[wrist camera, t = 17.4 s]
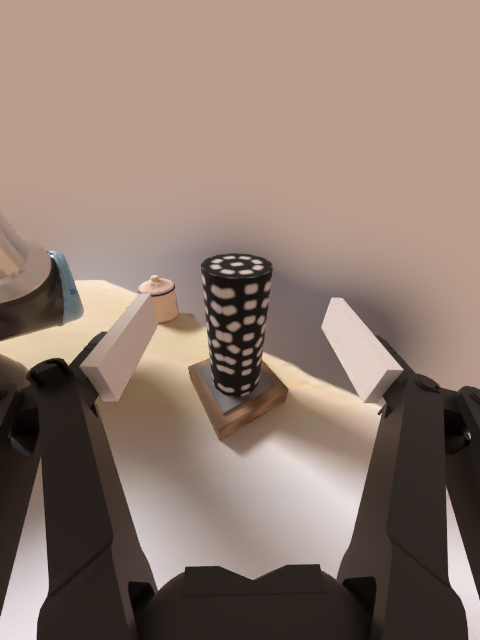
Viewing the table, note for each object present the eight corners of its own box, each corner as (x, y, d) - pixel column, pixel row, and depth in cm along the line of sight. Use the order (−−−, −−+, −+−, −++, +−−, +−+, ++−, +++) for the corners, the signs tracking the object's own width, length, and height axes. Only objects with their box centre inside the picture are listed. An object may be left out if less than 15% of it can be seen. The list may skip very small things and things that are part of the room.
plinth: (219, 440, 30) (218, 427, 27) (190, 378, 39) (187, 365, 36) (285, 401, 35) (288, 387, 33) (246, 355, 44) (247, 341, 42)
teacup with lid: (186, 313, 57) (180, 276, 51) (158, 328, 52) (147, 287, 45) (162, 300, 64) (154, 264, 57) (135, 311, 58) (122, 274, 51)
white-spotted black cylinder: (220, 404, 30) (212, 283, 19) (206, 365, 36) (194, 257, 25) (268, 387, 33) (287, 272, 21) (247, 353, 39) (253, 251, 28)
